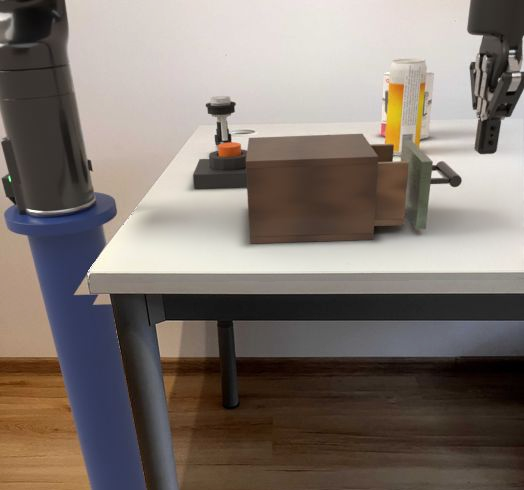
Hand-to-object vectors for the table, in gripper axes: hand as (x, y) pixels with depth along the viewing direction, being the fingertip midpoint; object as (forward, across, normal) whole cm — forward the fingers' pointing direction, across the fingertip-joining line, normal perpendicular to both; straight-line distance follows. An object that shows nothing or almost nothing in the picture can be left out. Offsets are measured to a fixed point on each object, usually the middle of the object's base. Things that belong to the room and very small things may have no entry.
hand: (485, 152), depth 71 cm
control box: (+8, -23, -32) cm, 40 cm away
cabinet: (+8, 0, -21) cm, 23 cm away
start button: (+4, -23, -32) cm, 40 cm away
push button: (+8, -39, -34) cm, 52 cm away
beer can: (+8, -37, -2) cm, 38 cm away
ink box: (+8, -50, +1) cm, 51 cm away
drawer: (+7, 0, -12) cm, 14 cm away
